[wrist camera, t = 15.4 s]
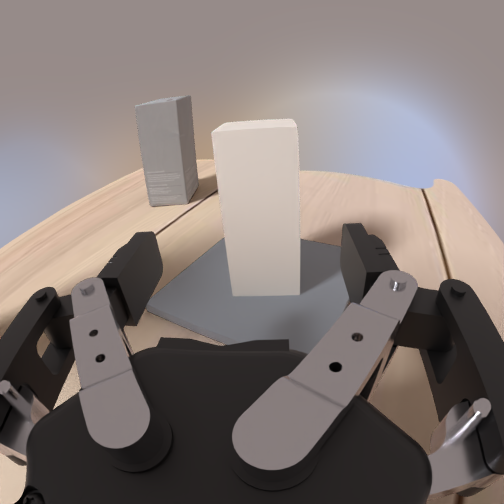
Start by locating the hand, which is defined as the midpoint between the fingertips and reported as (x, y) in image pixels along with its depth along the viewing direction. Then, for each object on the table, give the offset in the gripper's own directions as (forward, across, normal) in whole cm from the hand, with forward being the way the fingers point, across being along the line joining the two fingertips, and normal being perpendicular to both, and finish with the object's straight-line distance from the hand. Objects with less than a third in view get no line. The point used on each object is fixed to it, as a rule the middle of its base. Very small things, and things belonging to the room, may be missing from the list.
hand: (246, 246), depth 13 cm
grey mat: (+9, 0, +9) cm, 13 cm away
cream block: (+9, 0, +8) cm, 12 cm away
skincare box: (+32, +14, +9) cm, 37 cm away
